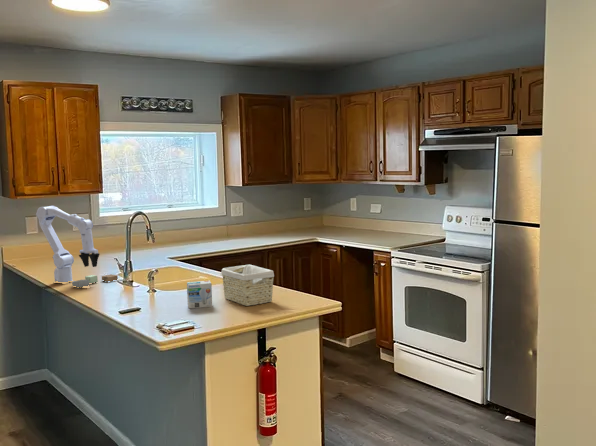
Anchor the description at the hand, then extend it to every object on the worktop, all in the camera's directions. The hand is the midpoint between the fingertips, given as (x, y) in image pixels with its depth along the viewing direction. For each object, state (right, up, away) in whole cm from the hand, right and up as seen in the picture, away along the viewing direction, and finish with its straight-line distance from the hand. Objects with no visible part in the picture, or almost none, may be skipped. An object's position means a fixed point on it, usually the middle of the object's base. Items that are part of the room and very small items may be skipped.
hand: (90, 266), depth 319 cm
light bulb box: (+69, -14, -56) cm, 90 cm away
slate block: (-2, -10, -8) cm, 13 cm away
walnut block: (+8, -9, +7) cm, 14 cm away
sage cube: (0, -10, +1) cm, 10 cm away
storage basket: (+90, -12, -47) cm, 102 cm away
